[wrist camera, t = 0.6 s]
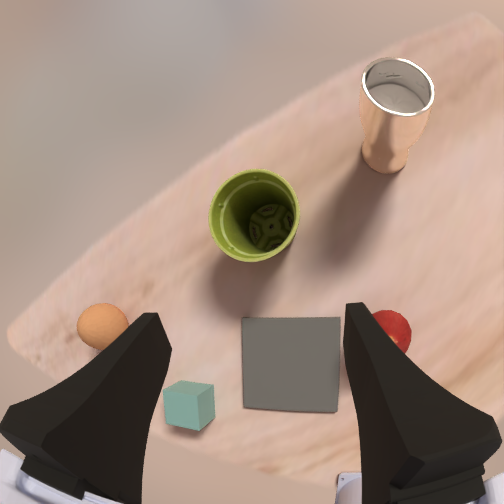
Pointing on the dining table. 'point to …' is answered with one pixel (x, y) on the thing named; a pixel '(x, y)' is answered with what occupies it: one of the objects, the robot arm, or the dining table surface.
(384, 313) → the onion
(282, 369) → the mat
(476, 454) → the robot arm
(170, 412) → the cube
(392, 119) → the beer glass
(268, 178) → the plant pot
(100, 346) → the egg
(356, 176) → the dining table surface
